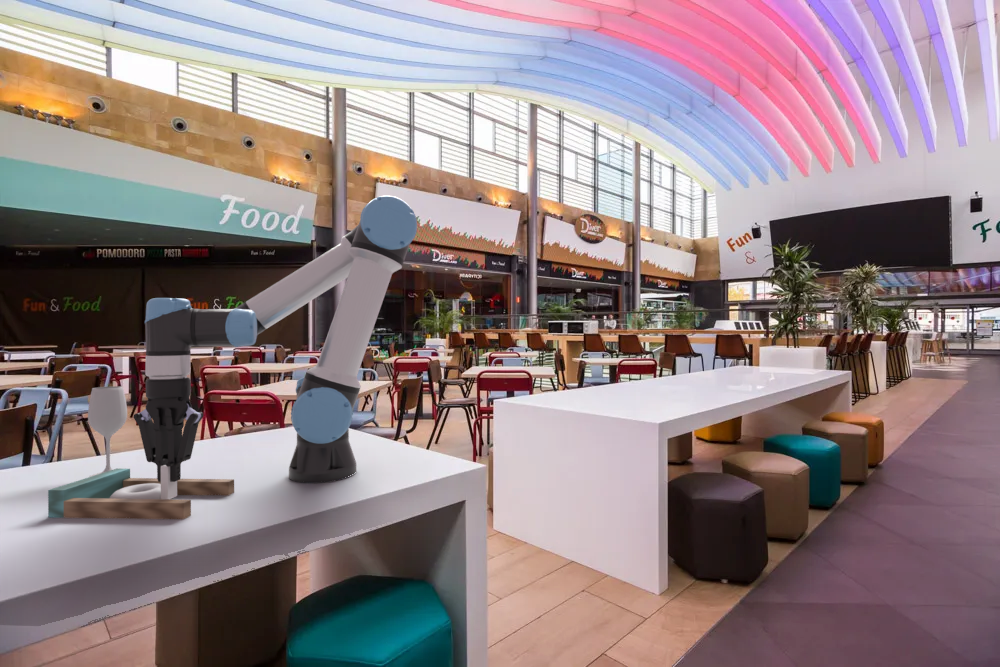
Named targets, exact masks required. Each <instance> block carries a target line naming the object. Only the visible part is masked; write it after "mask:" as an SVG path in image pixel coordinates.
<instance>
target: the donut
mask: <svg viewBox="0 0 1000 667" xmlns="http://www.w3.org/2000/svg"><path fill="white" fill-rule="evenodd" d="M109 499H161V484H158V483H147V484H138V485H133V486H128V487H124V488H121V489H119V490H117V491H115V492H114V493H113V494H112V495H111V496H110V498H109Z"/></svg>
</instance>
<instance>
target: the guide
mask: <svg viewBox="0 0 1000 667" xmlns="http://www.w3.org/2000/svg"><path fill="white" fill-rule="evenodd" d="M100 473H101V472H100ZM90 476H91V475H90ZM147 483H158V484H161V482H158V480H157V477H155V478H150V477H148V478H145V477H143V478H142V477H141V478H140V477H131V468H114V469H112V470H110V471H107V472H104V473H101V474H98V475H95V476H91V477H85V478H82V479H79V480H76V481H73V482H70V483H67V484H62V485H59V486H57V487H53V488H50V489H48V490H47V499H48V500H47V501H48V502H47V503H48V508H47V510H48V511H47V512H48V513H47V514H48V518H55V519H56V518H57V519H58V518H62V519H63V518H64V519H72V518H73V519H121V520H122V519H129V520H130V519H135V520H136V519H137V520H141V519H142V520H185V519H187V518H189V517H191V516H192V500H191V499H173V498H171V499H109V498H110V496H111V495H112V494H113V493H114V492H115V491H117V490H119V489H121V488H124V487H128V486H133V485H138V484H147ZM234 493H235V478H234V479H232V478H231V479H230V478H229V479H227V478H226V479H225V478H224V479H223V478H217V479H216V478H180V480H178V481H177V496H227V497H229V496H230V495H232V494H234Z"/></svg>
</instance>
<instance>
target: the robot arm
mask: <svg viewBox="0 0 1000 667" xmlns="http://www.w3.org/2000/svg"><path fill="white" fill-rule="evenodd" d="M359 219H360V220H359V223H358V224H357V225H356V226H355V227H354V228H353V229H352V230H351V231H349V232H348V233H346V234H345V235H343V236H342V237H341V241H340V243H339V244H337V245H336V246H334V247H332V248H330V249H329V250H327V251H326V252H324V253H323V254H321V255H320V256H318V257H316V258H315V259H313V260H312V261H310V262H308V263H306V264H305V265H303V266H301V267H300V268H298V269H297V270H295V271H294V272H291V273H290V274H289V275H286V276H285V277H283V278H282V279H280V280H279V281H277V282H275V283H273V284H272V285H270V286H269V287H268V288H266V289H265V290H262V291H261V292H259V293H257V294H256V295H254V296H253V297H251V298H250V299H248V300H246V301H245V302H243V303H241V304H239V305H238V306H236V307H234V308H214V309H213V308H209V309H208V308H206V309H204V308H203V309H202V308H201V309H200V308H192V305H191V301H190V300H189V299H186V298H177V297H175V298H173V297H155V298H151V299H149V300H148V301H147V302H146V308H145V320H144V325H145V329H144V330H145V373H144V374H145V376H146V377H148V378H147V380H145V397H146V399H147V402H146V404H145V409H143V410H142V411H140V412H137V413H134V414H133V419H134V421H135V422H136V424H137V425H138V428H139V433H140V438H141V441H142V446H143V450H144V453H145V459H146V461H147V462H148V463H153V464H155V465H156V467H157V468H156V469H157V470H156V473H157V474H156V476H157V477H156V478H157V480H158V482H161V499H174V498H176V497H178V495H177V481H178V480H180V479H182V478H181V477H182V476H181V474H182V473H181V466H182V463H184V462H186V461H188V460H191V457H192V454H193V450H194V445H195V441H196V437H197V432H198V427H199V423H200V422H201V421H202V419H203V417H204V413H203V411H196V410H195V409H193V406H192V403H191V401H190V396H191V393H192V387H191V386H192V380H191V378H190V377H188V376H189V375H190V374H191V369H192V368H191V362H192V361H191V360H192V359H191V349H192V347H235V348H236V347H237V348H239V347H248V346H254V345H255V344H256V342H257V338H258V335H259V334H262V333H263V332H265V330H267V329H268V328H270V327H272V326H273V325H275V324H276V323H278V322H279V321H281V320H283V319H285V318H286V317H287V316H289V315H291V314H292V313H294V312H296V311H297V310H298V309H300V308H302V307H303V306H306V304H308V303H309V302H311V301H313V300H315V299H316V298H318V297H319V296H321V295H322V294H324V293H325V292H327V291H329V290H330V289H332V288H333V287H335V286H337V285H338V284H340V283H341V282H343V281H344V280H346V282H345V285H344V287H343V290H342V292H341V295H340V299H339V301H338V304H337V306H336V310H335V312H334V315H333V318H332V321H331V323H330V326H329V330H328V332H327V336H326V338H325V341H324V344H323V347H322V349H321V352H320V355H319V357H318V361H317V363H316V364H315V366H314V365H313V366H312V367H310V368H309V369H307V370H306V372H305V375H304V376H303V377H301V378H299V379H298V380H297V381H296V387H295V393H296V400H295V401H294V403H293V405H292V408H291V412H290V415H291V416H290V420H291V424H292V426H293V428H294V430H295V432H296V446H295V448H294V452H293V454H292V458H291V461H290V464H289V467H288V479H289V480H291V481H293V482H296V483H303V484H306V483H308V484H309V483H310V484H313V483H314V484H315V483H316V484H318V483H319V484H320V483H328V482H329V483H330V482H335V481H334V480H336V481H340V480H339V479H341V480H343V479H342V478H345V477H348V476H350V475H352V474H354V473H355V472H356V473H357V461H356V458H355V455H354V451H353V449H352V446H351V443H350V440H349V438H350V436H349V435H350V434H349V433H350V431H349V430H350V429H349V428H350V427H351V424H352V423H353V422H352V421H353V415H354V414H353V411H354V408H355V406H356V402H357V400H358V396H359V394H360V391H361V388H362V385H361V384H360V382H359V379H358V374H359V371H360V368H361V365H362V362H363V360H364V357H365V354H366V351H367V347H368V346H369V342H370V340H371V336H372V333H373V331H374V328H375V324H376V322H377V319H378V316H379V313H380V310H381V308H382V305H383V301H384V299H385V296H386V292H387V290H388V287H389V285H390V284H389V283H390V282H391V278H392V275H393V274H394V273H395V272H397V271H399V270H401V269H402V268H403V265H404V262H405V259H406V257H407V253H408V251H409V248H410V246H411V243H412V242H413V240H414V239H415V238H416V234H417V230H418V223H417V217H416V214H415V212H414V210H413V208H412V207H411V206H410V205H409V204H408V203H407V202H406V201H405V200H403V199H401V198H400V197H397V196H394V195H381V196H377V197H375V198H373V199H372V200H370V201H369V202H368V203H366V205H365V206H364V207H363V208H362V210H361V213H360V218H359ZM184 420H186V421H185V422H184ZM354 475H355V474H354ZM348 478H349V477H348ZM345 479H346V478H345Z"/></svg>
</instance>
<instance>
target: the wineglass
mask: <svg viewBox="0 0 1000 667" xmlns="http://www.w3.org/2000/svg"><path fill="white" fill-rule="evenodd" d="M88 402H89V403H88V411H87V420H88V423H89V426H90V427H91V428H92V430H94V432H97V434H100V436H103V437H104V438H105V450H106V451H105V452H106V453H105V454H106V455H105V458H106V459H105V460H106V463H105V468H104V470H103V471H101V472H97V473H93V474H91V475H89V477H91V476H95V475H98V474H101V473H104V472H107V471H110V470H113V468H112V467H111V454H110V453H111V439H112V436H113V435H115V434H116V433H117V432H118V431H119V430H120V429H121V428H122V427H123V426H124V425H125V423H126V422H127V419H128V406H127V399H126V394H125V389H124V386H98V387H92V388H91V392H90V398H89V401H88Z"/></svg>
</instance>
